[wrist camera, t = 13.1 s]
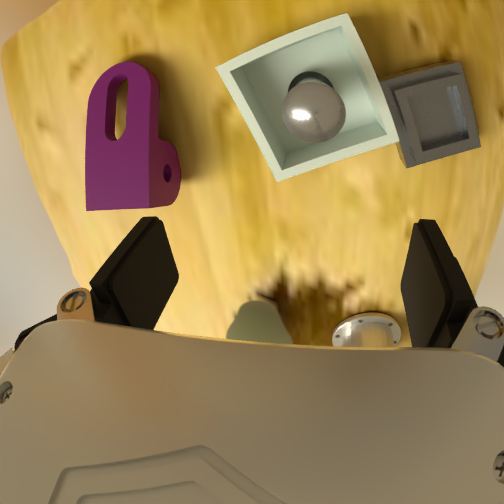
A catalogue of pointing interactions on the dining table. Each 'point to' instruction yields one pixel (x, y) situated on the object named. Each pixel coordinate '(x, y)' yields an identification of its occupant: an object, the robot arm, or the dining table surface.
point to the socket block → (431, 112)
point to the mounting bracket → (128, 145)
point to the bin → (276, 88)
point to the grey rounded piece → (313, 108)
